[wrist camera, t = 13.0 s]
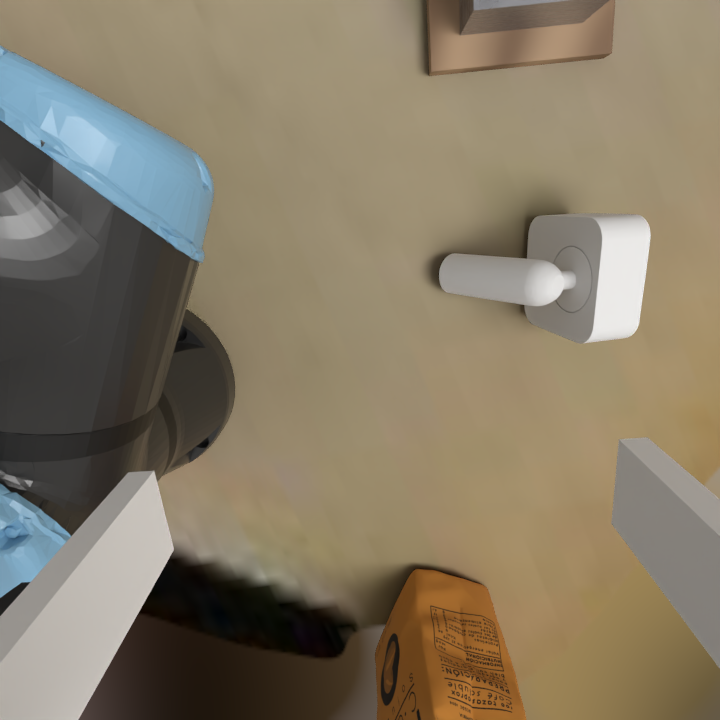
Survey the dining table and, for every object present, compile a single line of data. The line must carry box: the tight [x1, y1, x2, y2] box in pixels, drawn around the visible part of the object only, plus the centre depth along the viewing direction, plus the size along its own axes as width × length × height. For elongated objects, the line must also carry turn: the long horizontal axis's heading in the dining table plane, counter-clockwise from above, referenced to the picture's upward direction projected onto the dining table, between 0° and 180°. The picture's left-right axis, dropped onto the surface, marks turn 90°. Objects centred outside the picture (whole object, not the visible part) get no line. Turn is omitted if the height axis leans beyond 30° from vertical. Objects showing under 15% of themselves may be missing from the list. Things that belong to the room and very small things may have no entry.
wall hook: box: [439, 213, 651, 343], centre depth 34 cm, size 8×10×10 cm
